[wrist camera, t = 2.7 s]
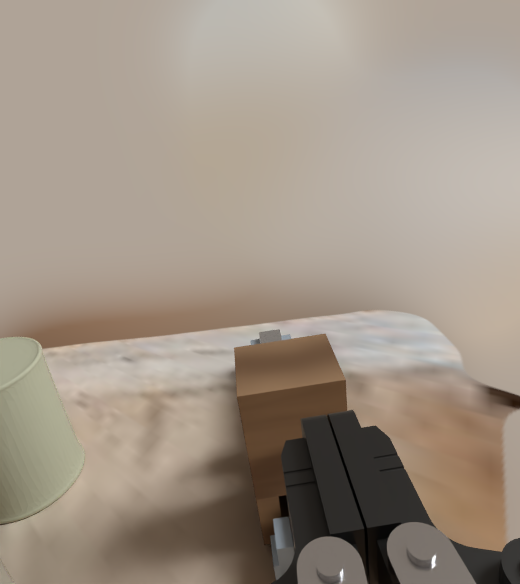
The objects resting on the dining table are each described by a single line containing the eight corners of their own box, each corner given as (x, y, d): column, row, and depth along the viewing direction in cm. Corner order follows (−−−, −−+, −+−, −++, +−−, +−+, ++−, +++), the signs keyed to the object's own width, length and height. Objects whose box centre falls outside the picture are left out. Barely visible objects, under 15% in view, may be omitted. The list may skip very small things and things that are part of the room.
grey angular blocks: (356, 574, 27) (355, 536, 25) (277, 588, 27) (270, 550, 25) (296, 361, 48) (293, 333, 47) (251, 368, 48) (247, 340, 47)
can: (-39, 545, 32) (-118, 422, 27) (-21, 462, 40) (-81, 354, 35) (88, 492, 35) (38, 372, 30) (82, 424, 43) (41, 320, 38)
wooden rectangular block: (353, 530, 29) (345, 379, 24) (264, 544, 29) (237, 396, 24) (335, 471, 33) (325, 333, 28) (258, 483, 33) (234, 347, 28)
